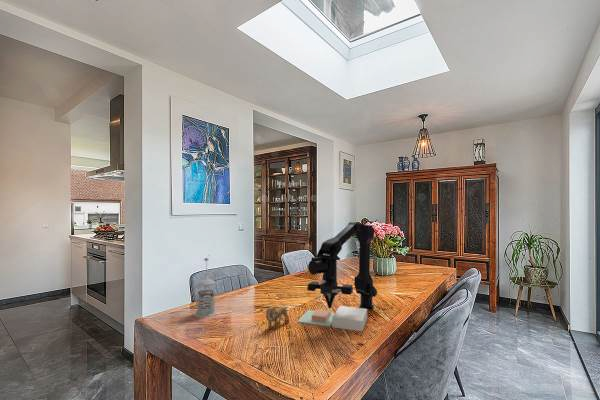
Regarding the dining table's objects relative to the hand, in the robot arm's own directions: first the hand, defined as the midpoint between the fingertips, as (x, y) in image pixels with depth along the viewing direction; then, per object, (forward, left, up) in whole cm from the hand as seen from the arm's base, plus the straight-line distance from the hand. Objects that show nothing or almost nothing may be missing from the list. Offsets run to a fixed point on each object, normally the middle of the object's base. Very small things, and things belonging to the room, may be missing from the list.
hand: (329, 308), depth 129 cm
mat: (0, -5, -5) cm, 7 cm away
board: (0, +9, -5) cm, 10 cm away
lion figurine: (+14, -18, -5) cm, 24 cm away
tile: (0, -4, -3) cm, 5 cm away
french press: (+12, -55, -5) cm, 57 cm away
